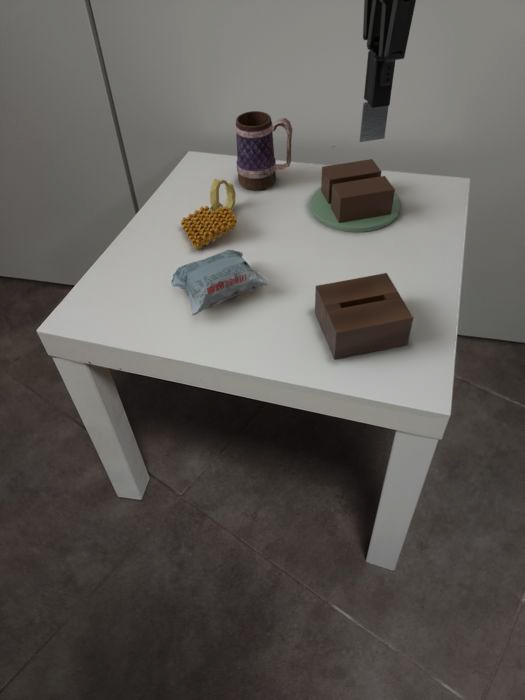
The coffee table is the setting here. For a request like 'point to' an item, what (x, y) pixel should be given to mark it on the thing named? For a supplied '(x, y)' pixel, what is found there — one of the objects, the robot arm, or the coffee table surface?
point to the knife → (372, 110)
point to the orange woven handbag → (211, 217)
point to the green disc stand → (355, 197)
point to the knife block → (362, 315)
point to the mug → (258, 149)
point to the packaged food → (217, 279)
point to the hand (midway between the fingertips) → (376, 101)
